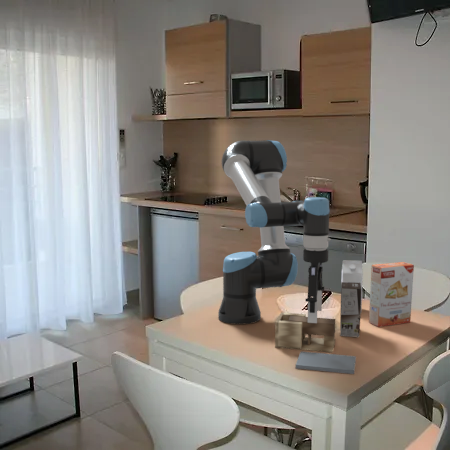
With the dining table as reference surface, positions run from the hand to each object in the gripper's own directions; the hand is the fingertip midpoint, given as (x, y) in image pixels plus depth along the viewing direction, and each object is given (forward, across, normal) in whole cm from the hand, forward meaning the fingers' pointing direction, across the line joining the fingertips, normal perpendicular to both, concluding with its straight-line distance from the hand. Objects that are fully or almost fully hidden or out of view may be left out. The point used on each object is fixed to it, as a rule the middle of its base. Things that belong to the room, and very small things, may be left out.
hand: (314, 316), depth 182 cm
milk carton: (+9, +41, -9) cm, 43 cm away
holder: (+9, 0, +3) cm, 10 cm away
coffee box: (+9, +15, -10) cm, 21 cm away
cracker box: (+9, +29, -23) cm, 38 cm away
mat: (+9, -15, -5) cm, 18 cm away
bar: (+5, 0, +1) cm, 5 cm away
